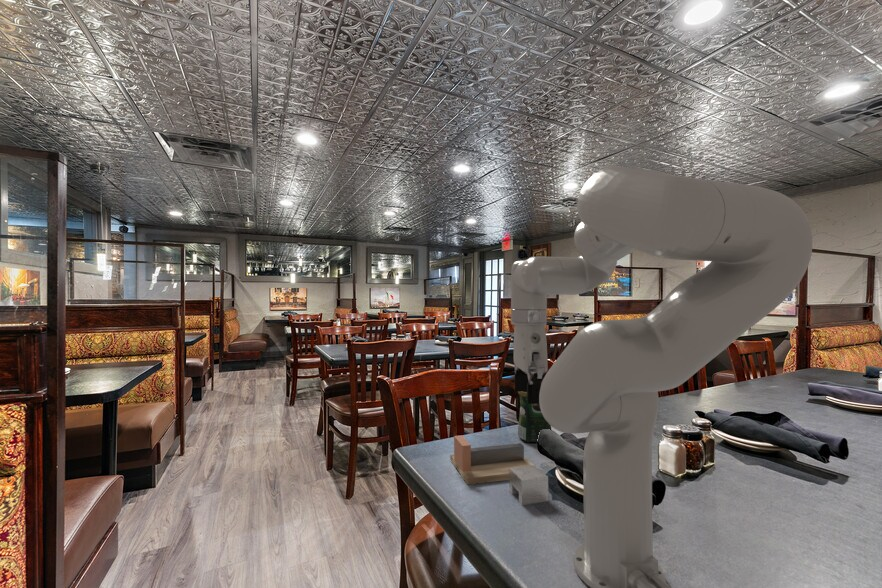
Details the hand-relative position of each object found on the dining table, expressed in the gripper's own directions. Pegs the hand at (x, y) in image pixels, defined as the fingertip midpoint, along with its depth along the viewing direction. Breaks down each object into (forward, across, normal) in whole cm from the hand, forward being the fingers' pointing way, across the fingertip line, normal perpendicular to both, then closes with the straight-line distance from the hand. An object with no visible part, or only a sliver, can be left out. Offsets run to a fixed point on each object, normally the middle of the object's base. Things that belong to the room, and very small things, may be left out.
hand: (527, 396), depth 83 cm
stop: (+20, +12, +13) cm, 26 cm away
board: (+21, +13, +5) cm, 25 cm away
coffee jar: (+22, +32, -12) cm, 41 cm away
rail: (+20, +13, +4) cm, 24 cm away
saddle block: (+21, -1, 0) cm, 21 cm away
